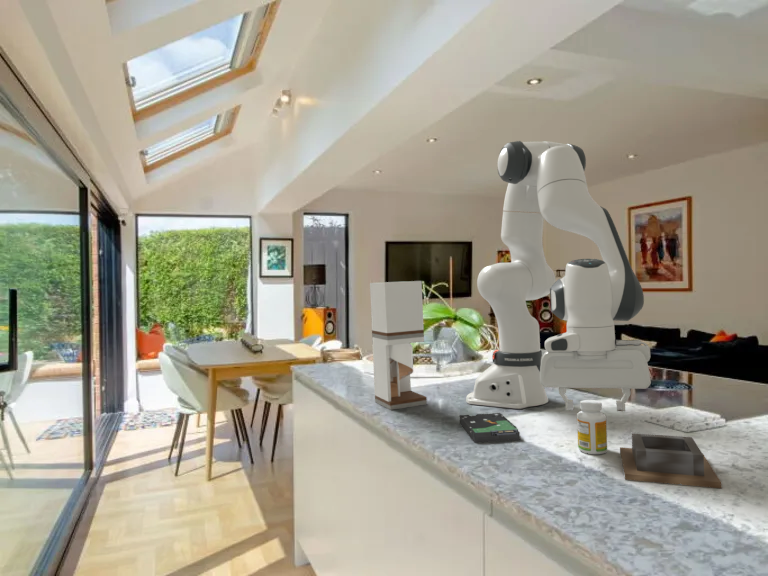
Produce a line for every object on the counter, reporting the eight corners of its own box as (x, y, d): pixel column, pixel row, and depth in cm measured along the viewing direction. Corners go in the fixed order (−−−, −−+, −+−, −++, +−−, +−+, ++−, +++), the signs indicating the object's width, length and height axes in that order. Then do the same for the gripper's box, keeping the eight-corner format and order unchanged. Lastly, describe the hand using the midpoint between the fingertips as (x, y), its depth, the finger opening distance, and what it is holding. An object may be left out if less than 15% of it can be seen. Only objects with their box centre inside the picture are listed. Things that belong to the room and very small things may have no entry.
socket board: (625, 479, 87) (624, 453, 87) (620, 452, 100) (619, 429, 100) (721, 488, 82) (720, 460, 82) (702, 458, 95) (702, 434, 95)
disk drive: (458, 426, 125) (474, 445, 110) (458, 415, 125) (473, 432, 110) (500, 423, 125) (521, 441, 111) (499, 412, 125) (520, 428, 111)
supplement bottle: (606, 447, 104) (604, 399, 104) (608, 456, 99) (606, 405, 99) (577, 445, 106) (576, 398, 105) (578, 454, 100) (576, 404, 100)
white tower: (390, 409, 141) (384, 282, 140) (375, 402, 150) (369, 283, 150) (426, 404, 145) (421, 280, 145) (409, 396, 155) (404, 281, 154)
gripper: (647, 337, 101) (651, 407, 101) (539, 339, 108) (542, 405, 108) (651, 341, 95) (656, 415, 95) (536, 343, 102) (540, 412, 102)
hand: (594, 410), depth 102 cm, fingers open, 8 cm apart
